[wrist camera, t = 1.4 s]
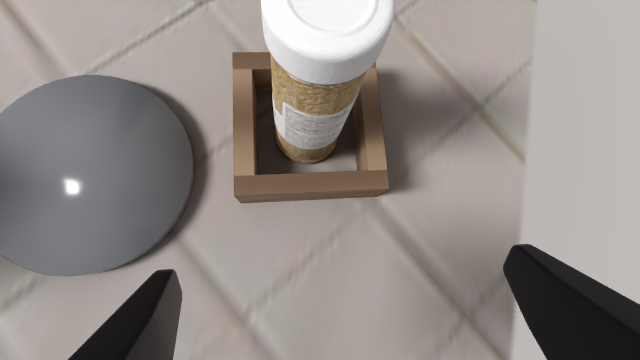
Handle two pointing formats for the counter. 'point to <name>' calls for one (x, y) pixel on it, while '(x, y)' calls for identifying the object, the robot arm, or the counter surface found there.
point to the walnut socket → (251, 187)
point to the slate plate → (90, 175)
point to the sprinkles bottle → (320, 66)
